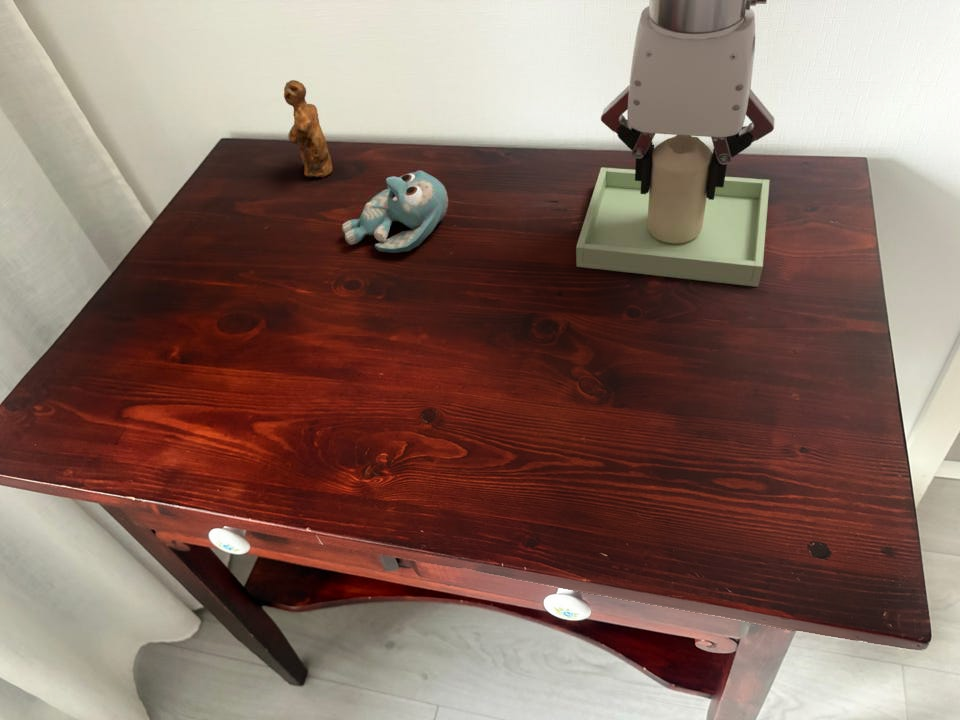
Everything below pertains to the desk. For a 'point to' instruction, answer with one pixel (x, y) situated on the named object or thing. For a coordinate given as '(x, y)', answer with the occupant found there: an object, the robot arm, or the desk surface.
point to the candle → (678, 188)
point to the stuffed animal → (401, 212)
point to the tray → (709, 257)
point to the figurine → (307, 132)
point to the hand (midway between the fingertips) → (678, 186)
